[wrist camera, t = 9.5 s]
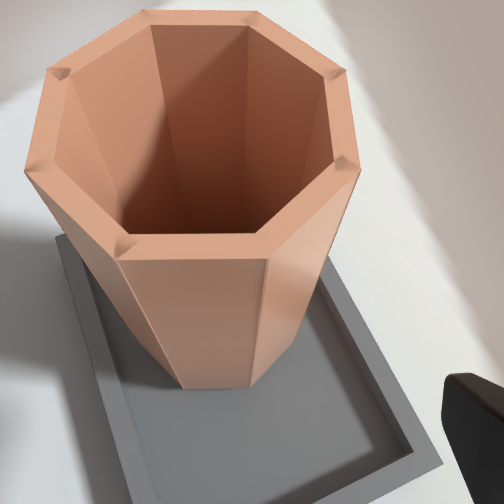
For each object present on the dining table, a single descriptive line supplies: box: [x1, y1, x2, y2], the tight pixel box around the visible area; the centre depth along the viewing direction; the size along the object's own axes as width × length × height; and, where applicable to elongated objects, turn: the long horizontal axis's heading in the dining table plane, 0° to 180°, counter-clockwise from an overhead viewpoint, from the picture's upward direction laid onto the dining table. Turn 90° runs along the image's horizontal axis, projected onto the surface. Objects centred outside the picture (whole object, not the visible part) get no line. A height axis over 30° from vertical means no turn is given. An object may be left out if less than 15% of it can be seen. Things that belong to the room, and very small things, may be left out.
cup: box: [24, 9, 361, 390], centre depth 16 cm, size 6×6×13 cm
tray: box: [55, 234, 443, 504], centre depth 21 cm, size 15×11×2 cm
